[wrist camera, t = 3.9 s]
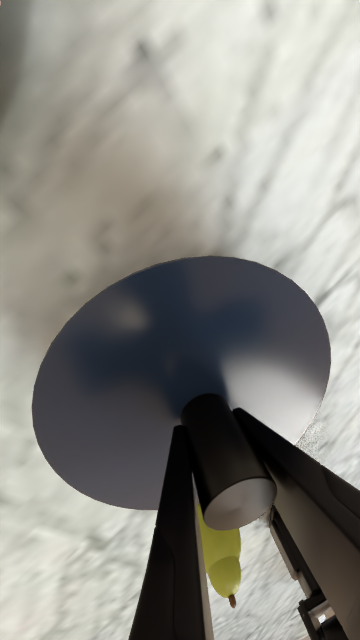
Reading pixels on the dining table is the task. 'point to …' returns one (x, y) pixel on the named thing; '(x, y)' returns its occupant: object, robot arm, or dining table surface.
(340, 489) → the robot arm
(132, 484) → the tin lid
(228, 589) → the pear
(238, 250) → the dining table surface
